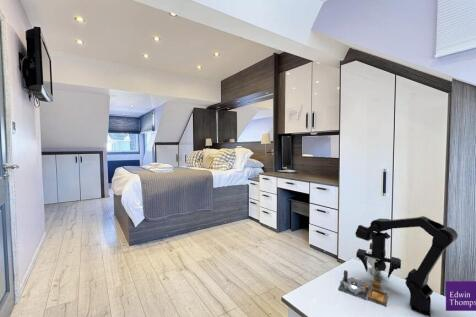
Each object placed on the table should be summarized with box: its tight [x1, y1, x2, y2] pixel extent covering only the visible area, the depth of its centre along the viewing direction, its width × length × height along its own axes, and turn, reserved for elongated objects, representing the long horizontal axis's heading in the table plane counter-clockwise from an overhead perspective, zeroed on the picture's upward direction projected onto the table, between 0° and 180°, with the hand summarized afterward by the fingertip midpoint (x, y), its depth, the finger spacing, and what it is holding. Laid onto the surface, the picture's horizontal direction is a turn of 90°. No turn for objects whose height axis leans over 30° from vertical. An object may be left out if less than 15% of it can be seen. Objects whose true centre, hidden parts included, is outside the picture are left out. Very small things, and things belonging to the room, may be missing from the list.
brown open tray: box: [366, 286, 389, 307], centre depth 105 cm, size 7×9×2 cm
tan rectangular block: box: [371, 276, 382, 291], centre depth 113 cm, size 4×5×4 cm
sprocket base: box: [337, 279, 370, 301], centre depth 112 cm, size 12×12×1 cm
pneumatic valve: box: [367, 251, 387, 277], centre depth 124 cm, size 6×12×12 cm, turn 174°
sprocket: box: [339, 270, 369, 295], centre depth 112 cm, size 12×12×6 cm
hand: (377, 274), depth 113 cm, fingers open, 9 cm apart
